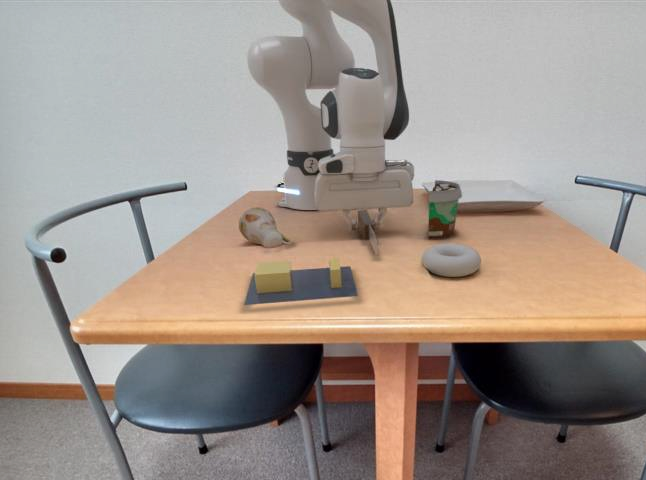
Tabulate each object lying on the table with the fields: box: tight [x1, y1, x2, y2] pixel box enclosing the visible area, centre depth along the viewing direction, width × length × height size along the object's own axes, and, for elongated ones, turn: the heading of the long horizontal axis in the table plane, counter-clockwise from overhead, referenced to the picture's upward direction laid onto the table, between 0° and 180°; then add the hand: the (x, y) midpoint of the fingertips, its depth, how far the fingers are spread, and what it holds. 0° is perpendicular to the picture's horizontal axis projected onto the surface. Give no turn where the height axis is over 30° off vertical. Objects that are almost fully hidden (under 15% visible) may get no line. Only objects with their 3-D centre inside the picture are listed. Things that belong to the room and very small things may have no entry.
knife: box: [357, 209, 378, 256], centre depth 87 cm, size 21×2×4 cm, turn 10°
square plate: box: [421, 179, 546, 214], centre depth 116 cm, size 27×27×4 cm
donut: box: [421, 243, 482, 278], centre depth 73 cm, size 10×4×10 cm
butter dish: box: [243, 259, 359, 306], centre depth 66 cm, size 12×16×4 cm
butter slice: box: [328, 257, 341, 288], centre depth 66 cm, size 5×2×3 cm, turn 8°
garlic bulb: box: [238, 206, 293, 249], centre depth 85 cm, size 8×10×10 cm
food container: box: [427, 179, 462, 240], centre depth 90 cm, size 12×6×10 cm, turn 168°
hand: (365, 229), depth 91 cm, fingers open, 4 cm apart
